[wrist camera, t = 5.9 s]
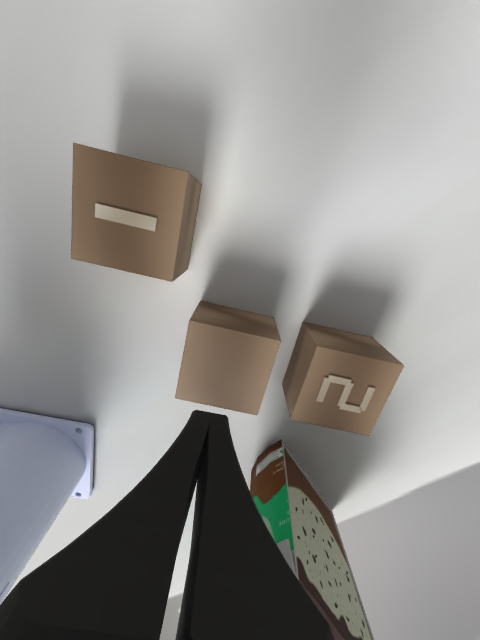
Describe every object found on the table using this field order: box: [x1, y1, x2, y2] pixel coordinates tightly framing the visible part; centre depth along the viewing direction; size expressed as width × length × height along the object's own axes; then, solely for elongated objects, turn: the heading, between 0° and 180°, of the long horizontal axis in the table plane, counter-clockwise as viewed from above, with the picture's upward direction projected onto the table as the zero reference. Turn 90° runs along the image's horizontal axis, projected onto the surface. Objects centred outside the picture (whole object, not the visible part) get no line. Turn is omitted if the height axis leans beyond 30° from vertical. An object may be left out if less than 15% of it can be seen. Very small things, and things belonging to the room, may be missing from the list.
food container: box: [250, 440, 374, 640], centre depth 19 cm, size 12×6×10 cm, turn 32°
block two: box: [282, 322, 404, 436], centre depth 17 cm, size 5×5×4 cm
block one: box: [71, 143, 202, 282], centre depth 14 cm, size 5×5×4 cm
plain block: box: [175, 301, 281, 415], centre depth 17 cm, size 5×5×4 cm
